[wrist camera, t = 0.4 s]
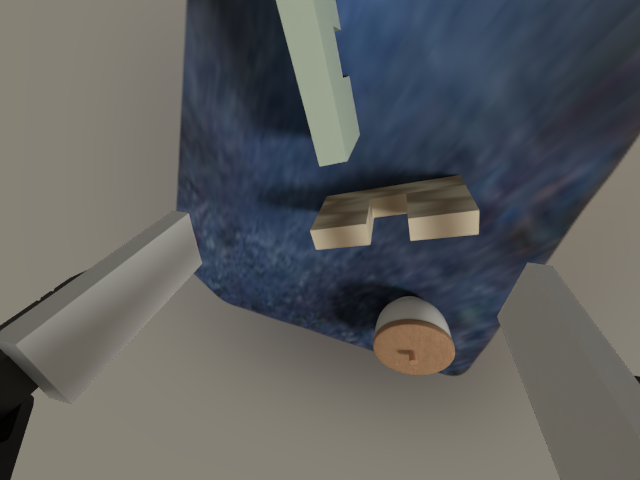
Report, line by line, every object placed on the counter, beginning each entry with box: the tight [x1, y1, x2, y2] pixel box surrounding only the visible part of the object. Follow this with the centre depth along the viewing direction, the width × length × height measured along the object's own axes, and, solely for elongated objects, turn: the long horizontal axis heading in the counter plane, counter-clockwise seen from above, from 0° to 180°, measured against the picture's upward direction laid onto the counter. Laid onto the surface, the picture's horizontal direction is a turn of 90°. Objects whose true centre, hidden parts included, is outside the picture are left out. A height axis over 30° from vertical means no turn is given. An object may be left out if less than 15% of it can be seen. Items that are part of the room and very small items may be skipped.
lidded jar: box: [373, 296, 455, 375], centre depth 41 cm, size 11×11×9 cm
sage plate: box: [276, 0, 360, 166], centre depth 24 cm, size 16×2×10 cm, turn 15°
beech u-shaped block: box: [310, 175, 479, 250], centre depth 31 cm, size 16×2×9 cm, turn 105°
